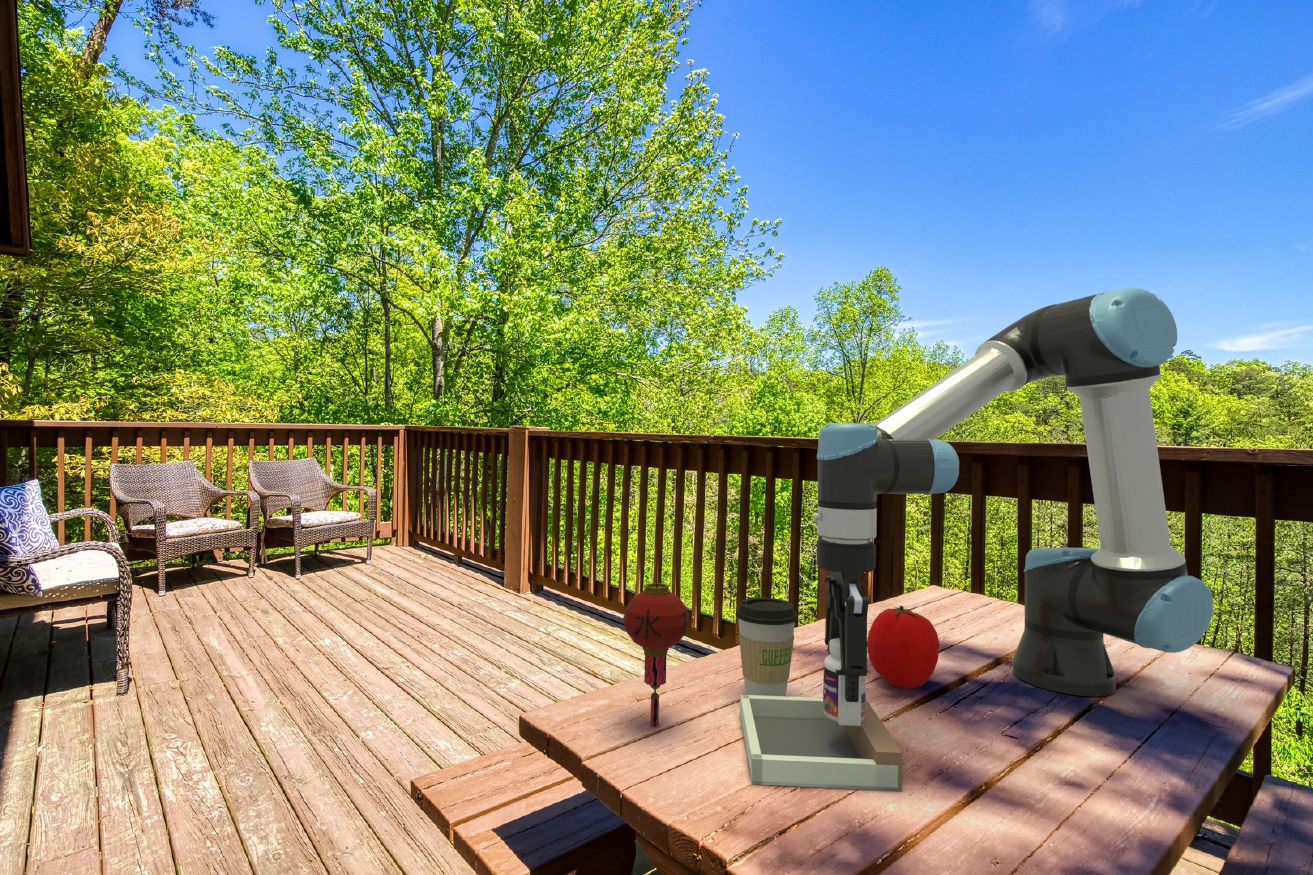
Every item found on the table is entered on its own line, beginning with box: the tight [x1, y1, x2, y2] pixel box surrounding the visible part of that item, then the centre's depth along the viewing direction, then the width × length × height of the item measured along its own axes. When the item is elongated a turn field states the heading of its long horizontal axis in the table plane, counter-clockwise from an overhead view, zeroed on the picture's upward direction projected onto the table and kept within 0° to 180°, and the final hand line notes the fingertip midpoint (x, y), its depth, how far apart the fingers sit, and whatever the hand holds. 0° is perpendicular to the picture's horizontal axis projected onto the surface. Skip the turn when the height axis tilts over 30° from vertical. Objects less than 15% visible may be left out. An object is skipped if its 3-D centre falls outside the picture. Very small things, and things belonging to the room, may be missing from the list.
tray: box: [739, 694, 903, 792], centre depth 84 cm, size 18×19×4 cm
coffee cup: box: [735, 596, 799, 697], centre depth 100 cm, size 10×10×15 cm
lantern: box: [622, 514, 690, 728], centre depth 90 cm, size 10×10×30 cm
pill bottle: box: [822, 638, 867, 722], centre depth 83 cm, size 5×5×10 cm
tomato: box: [867, 605, 940, 690], centre depth 106 cm, size 12×12×13 cm
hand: (843, 713), depth 83 cm, fingers closed on pill bottle, 5 cm apart
